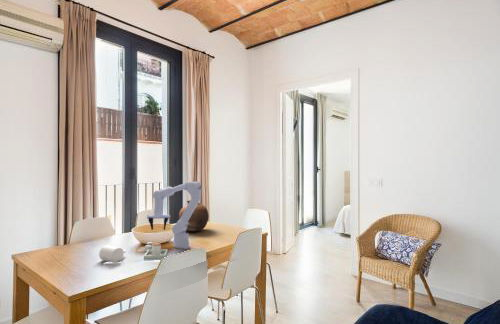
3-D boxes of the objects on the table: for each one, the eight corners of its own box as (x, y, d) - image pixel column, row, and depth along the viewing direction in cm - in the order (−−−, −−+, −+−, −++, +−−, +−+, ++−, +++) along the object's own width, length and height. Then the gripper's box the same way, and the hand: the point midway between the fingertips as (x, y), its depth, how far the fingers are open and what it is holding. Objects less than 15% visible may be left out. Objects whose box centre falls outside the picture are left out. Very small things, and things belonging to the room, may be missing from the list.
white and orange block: (158, 254, 174) (158, 242, 174) (160, 255, 171) (160, 243, 170) (151, 255, 172) (151, 243, 172) (153, 257, 168) (153, 244, 168)
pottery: (205, 234, 223) (206, 201, 223) (175, 234, 223) (176, 201, 223) (210, 227, 246) (210, 197, 245) (182, 227, 246) (183, 197, 246)
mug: (111, 264, 157) (111, 250, 157) (98, 261, 161) (98, 247, 161) (129, 258, 168) (129, 244, 167) (117, 255, 172) (117, 241, 172)
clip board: (161, 247, 188) (161, 241, 188) (159, 252, 178) (159, 246, 178) (138, 248, 186) (138, 242, 185) (135, 253, 176) (135, 246, 176)
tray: (167, 253, 178) (167, 249, 178) (165, 259, 166) (165, 255, 166) (147, 253, 176) (147, 249, 176) (143, 260, 164) (143, 256, 164)
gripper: (170, 207, 198) (170, 227, 198) (148, 207, 196) (147, 228, 196) (169, 209, 191) (169, 230, 191) (146, 209, 189) (145, 230, 189)
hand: (158, 229), depth 193 cm, fingers open, 7 cm apart
